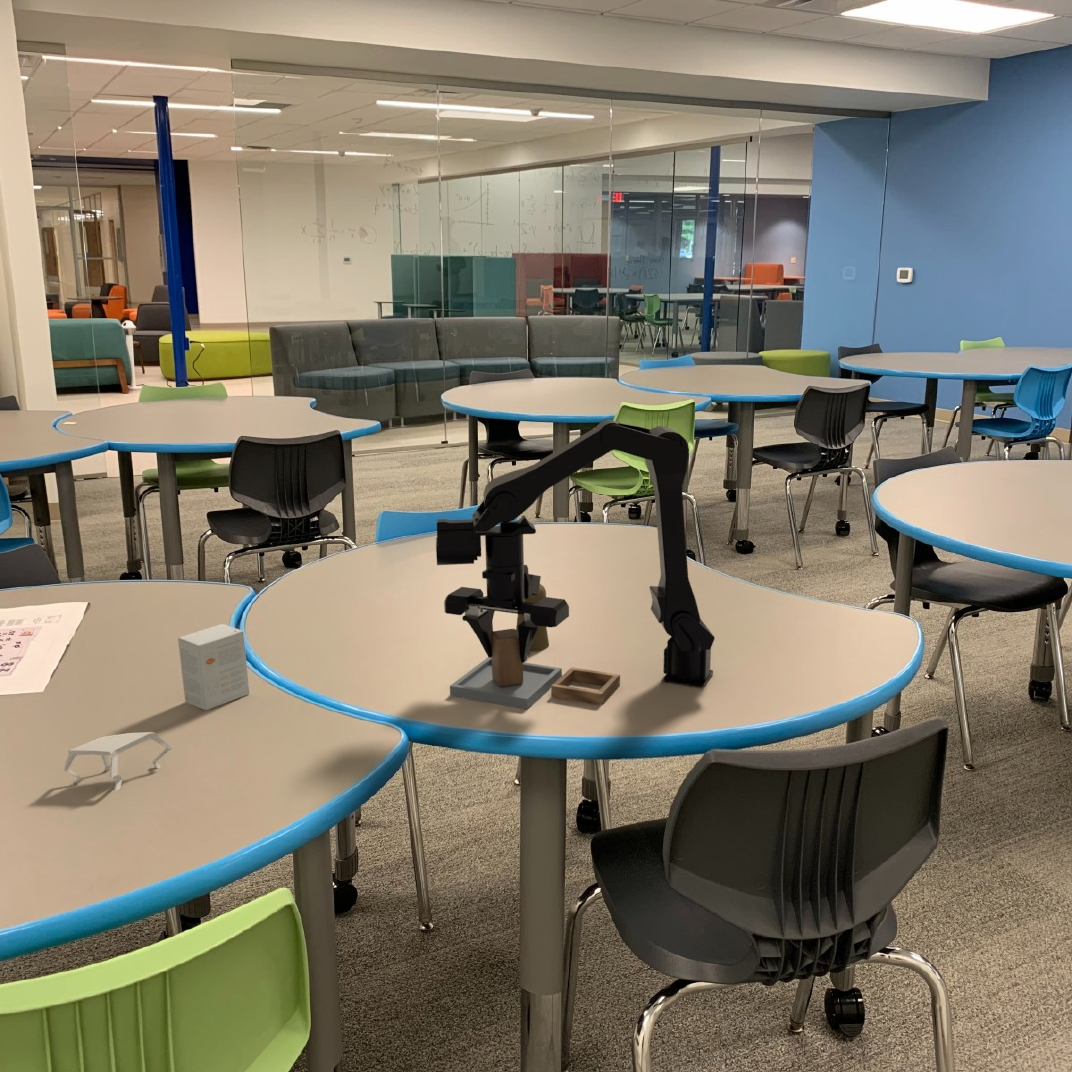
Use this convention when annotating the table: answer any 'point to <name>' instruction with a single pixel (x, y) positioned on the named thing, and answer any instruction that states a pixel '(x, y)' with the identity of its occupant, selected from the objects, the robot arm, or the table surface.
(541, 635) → the olive pawn piece
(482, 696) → the slate tray
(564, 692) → the walnut collar
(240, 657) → the small box
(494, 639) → the wooden block
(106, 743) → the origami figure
